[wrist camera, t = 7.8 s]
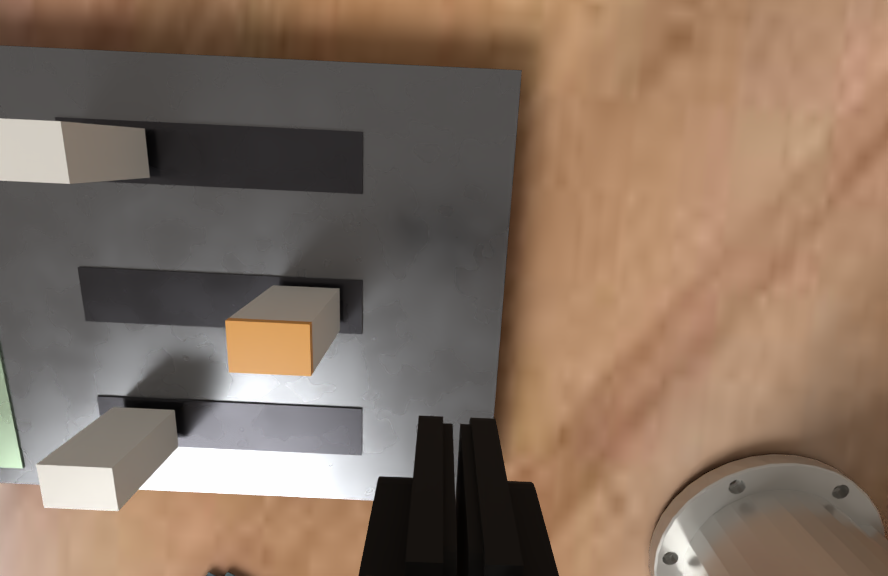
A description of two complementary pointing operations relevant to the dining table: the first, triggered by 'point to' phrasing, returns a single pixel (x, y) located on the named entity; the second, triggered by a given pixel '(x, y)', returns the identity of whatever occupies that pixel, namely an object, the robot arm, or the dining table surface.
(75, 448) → the block
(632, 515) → the dining table surface
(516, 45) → the dining table surface
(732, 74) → the dining table surface
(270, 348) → the block
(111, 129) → the block
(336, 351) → the panel
